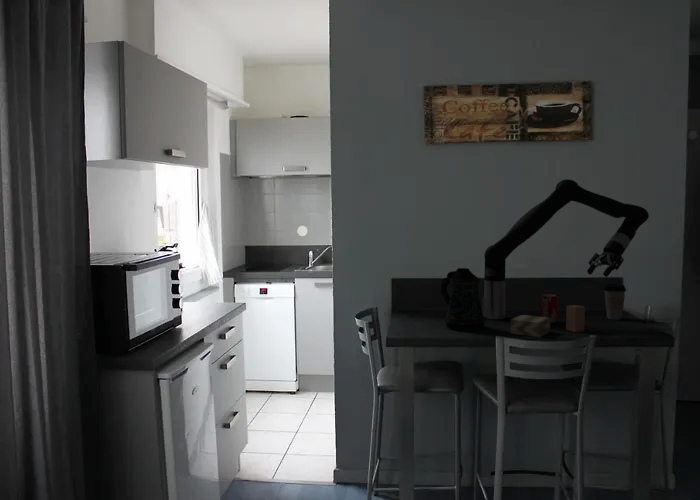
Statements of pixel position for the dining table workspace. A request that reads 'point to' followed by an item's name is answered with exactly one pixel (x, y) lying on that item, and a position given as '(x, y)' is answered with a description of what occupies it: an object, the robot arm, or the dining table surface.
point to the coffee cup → (614, 300)
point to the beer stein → (462, 301)
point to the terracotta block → (575, 318)
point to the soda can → (549, 307)
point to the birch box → (530, 325)
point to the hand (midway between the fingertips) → (596, 274)
